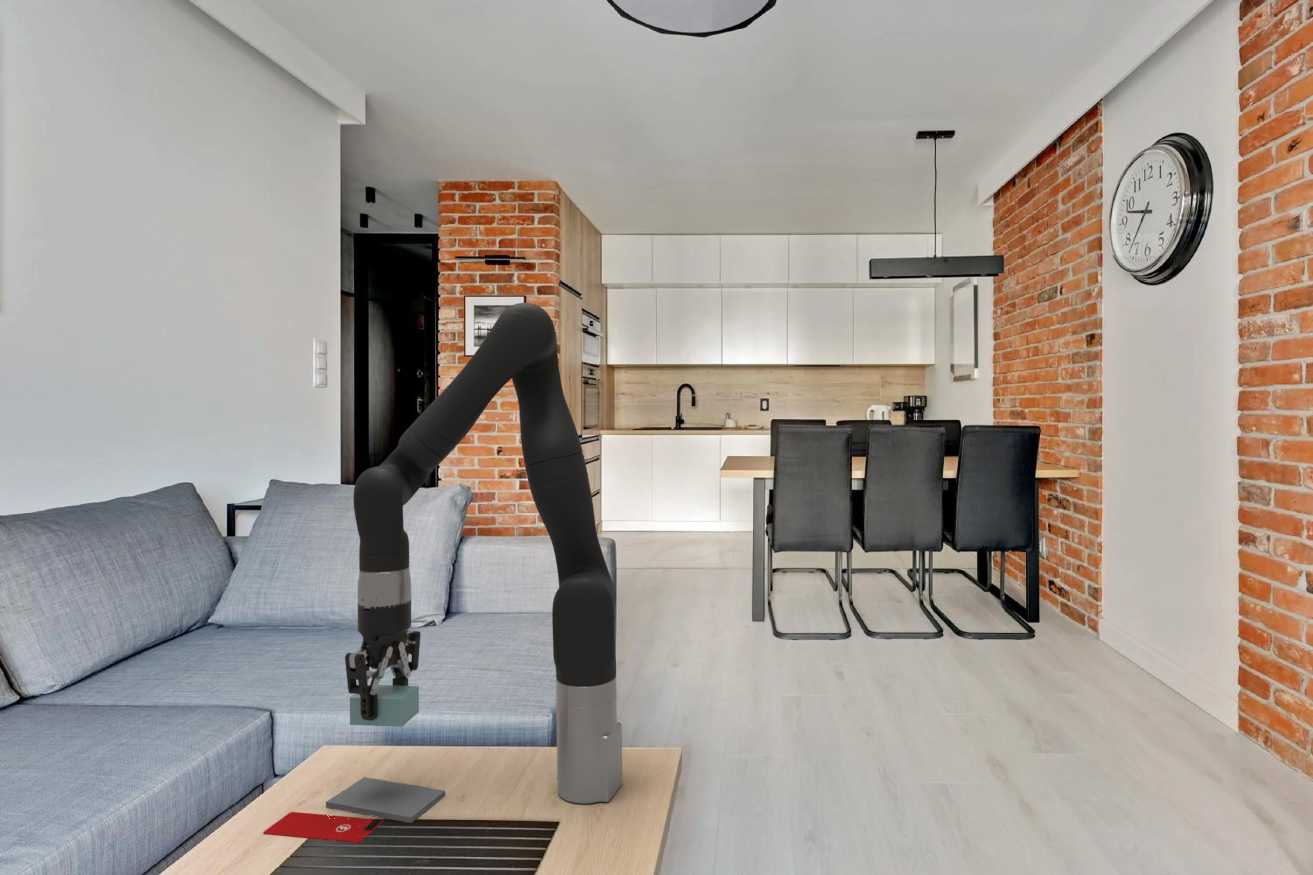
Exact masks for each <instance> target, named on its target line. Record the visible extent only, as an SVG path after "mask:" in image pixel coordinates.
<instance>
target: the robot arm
mask: <svg viewBox="0 0 1313 875" xmlns="http://www.w3.org/2000/svg"><path fill="white" fill-rule="evenodd" d="M487 333H488V334H487V335H486V336H485V338H484V340H482V343H481V344H480V346H479V347H478V349H477V350H476V351H475V353H474V354H473V355H472V357H471V358H470V359H469V360H468V362H467V363H466V364H465V365H464V367H463V368H462V370H461V371H460V372H459V373H458V374H457V375H456V376H455V377H454V379H453V380H452V381H451V382H450V383H449V384H448V385H447V386H446V387H445V388H444V390H442V392H441V393H440V394H439V395H438V396H437V397H436V398H435V399H434V400H433V401H432V403H430V404H429V405H428V406H427V407H426V409H425V410H424V411H423V412H421V414H420V415H419V416H418V417H417V419H415V420H414V422H413V423H412V424H410V426H409V427H408V428H406V430H405V431H404V432H403V434H402V435H401V436H400V438H399V441H398V445H397V446H396V447H395V449H394V450H392V452H391V453H390V454H389V455H388V456H387V458H386V459H385V460H384V461H383V462H382V463H381V464H380V465H378V466H373V467H370V468H368V469H366V470H364V471H363V472H361V474H360V475H358V478H357V480H356V482H355V484H354V487H353V510H354V511H353V512H354V517H355V522H356V529H357V533H358V537H359V547H358V548H359V550H358V555H359V559H358V562H359V565H358V566H359V568H358V569H359V571H358V572H359V573H358V580H357V631H358V633H359V634H360V635H361V636H362V642H361V646H360V649H359V650H357V651H355V652H347V653H346V654H345V656H344V663H345V671H346V679H347V680H346V681H347V691H348V693H349V694H352V695H354V694H359V695H360V706H361V717H362V718H363V719H364V720H370V721H373V720H374V719H376V718H377V694H376V691H377V688H378V685H380V681H381V680H383V678H384V677H385V673H386V671H387V669H388V668H390V670H391V671H390V672H391V674H392V676H393V677H394V678H392V685H400V686H409V678H410V677H411V674H412V672H413V671H417V670H418V668H419V661H420V660H419V659H420V646H421V634H422V633H421V632H420V631H418V630H409V629H410V628H411V627H412V578H411V571H410V541H409V535H408V533H407V532H406V531H405V528H404V506H405V505H407V503H408V502H409V501H410V500H411V499H412V498H413V496H415V495H416V493H417V492H418V491H419V490H420V488H421V487H422V486H423V485H424V483H425V482H426V480H427V479H428V478H429V476H430V475H431V474H432V472H433V470H435V468H437V467H438V466H439V465H440V464H441V463H442V462H444V461H445V459H446V458H447V457H448V456H449V455H450V454H451V452H452V451H453V450H455V448H456V447H457V446H458V445H459V444H460V442H462V440H463V439H464V438H465V437H466V436H467V434H468V433H469V432H470V430H471V429H472V428H473V426H475V424H476V422H477V420H479V418H480V417H481V415H482V413H483V412H484V411H485V410H486V408H487V407H488V406H489V404H490V403H491V402H492V400H493V399H494V398H495V396H497V394H498V393H499V391H501V390H502V389H503V387H504V386H506V384H507V383H508V382H509V381H511V380H512V384H513V388H514V390H515V393H516V397H517V402H518V408H519V427H520V428H519V429H520V442H521V451H522V457H523V464H524V468H525V472H526V476H527V481H528V486H529V490H530V492H531V497H532V499H533V502H534V505H535V508H536V509H537V512H538V514H539V516H540V519H541V521H542V522H543V523H542V524H543V525H544V527H545V529H546V532H547V534H548V535H549V539H550V541H551V544H552V548H553V552H554V556H555V557H554V558H555V564H556V570H557V578H558V580H557V581H558V589H557V591H556V592H555V593H554V597H553V601H552V608H551V612H552V613H551V615H552V616H551V619H552V623H551V624H552V652H553V661H554V662H553V663H554V667H555V678H556V679H555V683H556V684H555V685H556V686H555V689H556V692H555V693H556V695H555V697H556V698H555V699H556V700H555V702H556V704H555V705H556V766H557V767H556V771H557V772H556V773H557V775H556V780H557V794H558V795H559V797H560V798H562V799H563V800H565V801H567V802H570V803H574V804H593V803H594V804H595V803H600V802H603V803H609V802H610V801H611V799H612V798H613V796H614V795H615V794H616V793H617V791H619V789H620V788H621V786H622V785H623V735H622V734H623V732H622V731H623V728H622V727H623V725H622V723H621V722H619V721H617V720H618V716H617V715H618V714H617V713H618V711H617V710H618V709H617V659H616V651H615V648H616V647H615V608H616V603H617V594H616V588H615V586H614V583H613V580H612V577H611V574H610V571H609V568H608V565H607V562H606V560H605V556H604V554H603V551H602V547H601V545H600V540H599V537H598V532H597V527H596V526H597V525H596V518H595V510H594V503H593V502H594V501H593V496H592V490H591V484H590V478H589V473H588V468H587V464H586V459H585V455H584V451H583V448H582V443H581V440H580V438H579V434H578V432H577V431H578V430H577V427H576V425H575V422H574V418H573V417H572V414H571V411H570V408H569V406H568V403H567V400H566V397H565V395H564V394H565V393H564V390H563V385H562V379H561V372H560V366H559V365H560V363H559V357H558V354H559V353H558V338H557V332H556V328H555V325H554V322H553V319H552V318H551V317H550V314H549V313H548V312H547V311H546V310H545V309H544V308H543V307H541V306H539V305H537V304H534V303H531V302H520V303H519V302H518V303H514V304H513V305H510V306H508V307H506V309H504V310H503V311H502V312H501V314H499V317H498V318H497V319H496V321H495V322H494V324H493V326H492V327H491V329H490V330H489V331H488V332H487ZM409 655H411V660H410V659H409ZM370 668H371V669H372V670H375V671H370ZM370 678H371V681H370V684H368V683H369V680H370ZM357 681H358V684H357ZM368 685H370V686H368Z"/></svg>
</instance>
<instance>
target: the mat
mask: <svg viewBox="0 0 1313 875" xmlns="http://www.w3.org/2000/svg"><path fill="white" fill-rule="evenodd" d="M445 797H446V790H445V789H439V788H438V789H437V788H433V787H427V786H426V787H425V786H419V785H413V784H408V783H404V782H397V781H391V780H384V779H378V778H372V777H367V776H364V777H362V778H361V779H359V780H358V781H356V782H355V783H353V784H351V785H350V786H348V787H347V788H345V789H344V790H342V791H341V792H338V793H337V794H336V795H334V796H333V797H331V798H329V799H327V801H325V808H328V809H333V810H339V811H343V812H349V813H355V814H359V813H360V815H364V816H365V815H366V816H370V815H373V816H372V817H375V816H378V817H377V818H381V817H382V818H381V819H386V818H388V820H391V821H398V822H402V823H406V824H407V823H409V824H413V822H415V821H416V820H417V819H418V818H420V817H421V816H422V815H423V814H425V813H426V812H427V811H428V810H429V809H431V808H432V807H434V806H435V805H436V804H437V803H439V801H441V800H442V799H443V798H445Z"/></svg>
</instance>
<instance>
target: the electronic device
mask: <svg viewBox="0 0 1313 875" xmlns="http://www.w3.org/2000/svg"><path fill="white" fill-rule="evenodd" d="M327 815H328V816H329V815H330V816H329V817H328V816H327ZM331 815H332V814H322V813H321V814H320V813H309V812H299V811H297V812H296V811H291V812H288V813H286V815H284V816H283V817H282V818H280V819H279V820H278V821H276V822H275V823H274V824H272V825H271V826H270V827H269V828H268V827H267V828H266V829H265V830H264V831H263V832H262V834H263V835H268V836H278V837H288V838H297V839H308V840H319V841H329V840H333V841H332V842H339V841H344V842H343V843H349V842H352V843H351V844H361V843H363V842H362V840H364V838H366V837H367V836H368V835H369V834H370V833H371V834H372V833H373V832H374V831H375V830H376V829H377V828H379V827H380V826H381V825H382V824H381V823H382V822H383V823H384V820H383V818H381V819H379V818H369V819H366V817H355V816H344V815H336V814H335V815H334V814H333V815H332V816H331ZM329 818H330V819H329ZM334 818H335V819H334ZM348 818H349V819H348ZM362 818H363V819H364V818H365V819H364V820H363V819H362ZM372 819H373V820H372ZM329 822H330V823H329ZM363 822H364V823H363ZM359 826H360V827H359ZM374 829H375V830H374ZM373 830H374V831H373ZM371 834H370V835H371ZM370 835H369V836H370ZM328 836H329V837H328ZM357 836H358V837H357ZM359 836H360V837H359ZM363 836H364V837H363ZM365 836H366V837H365ZM369 836H368V837H369ZM362 837H363V838H362ZM368 837H367V838H368ZM367 838H366V839H367ZM320 839H322V840H320ZM334 840H336V841H334ZM364 841H365V840H364ZM354 842H355V843H354ZM360 842H361V843H360Z"/></svg>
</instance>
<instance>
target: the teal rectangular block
mask: <svg viewBox="0 0 1313 875" xmlns="http://www.w3.org/2000/svg"><path fill="white" fill-rule="evenodd" d="M368 686H370V684H368ZM419 692H420V687H419V685H408V686H400V685H393V684H379V685H378V688H377V691H376V694H377V718H376V719H374V720H373V721H370V720H364V719H363V718H362V717H361V706H360V695H359V694H352V696H350V697H349V725H350V726H372V727H397V728H401V727H403V726H406V724H407V723H408V722H409V721H411V720H412V719H413V718H414V717H416V715H418V714H419V713H420V697H419V696H420V693H419Z"/></svg>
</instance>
